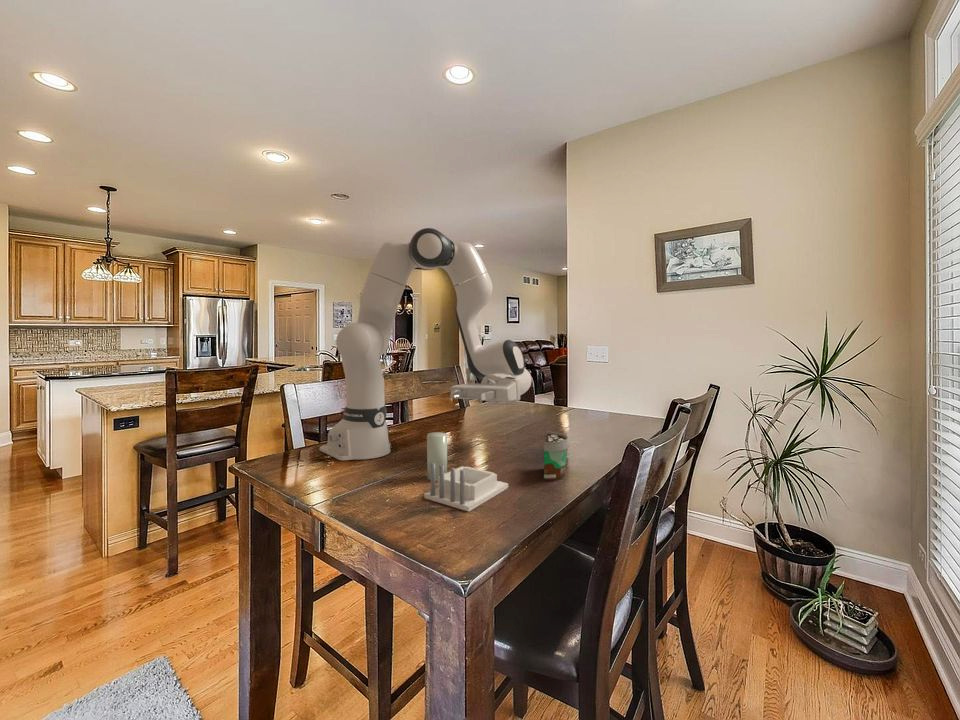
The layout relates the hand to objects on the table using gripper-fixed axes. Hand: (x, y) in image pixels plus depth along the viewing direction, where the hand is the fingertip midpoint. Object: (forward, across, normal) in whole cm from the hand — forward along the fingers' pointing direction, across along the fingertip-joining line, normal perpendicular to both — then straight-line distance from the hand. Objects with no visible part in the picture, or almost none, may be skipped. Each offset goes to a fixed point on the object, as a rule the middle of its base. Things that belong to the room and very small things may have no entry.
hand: (465, 396), depth 112 cm
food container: (-8, +22, +21) cm, 31 cm away
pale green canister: (+12, -1, +18) cm, 22 cm away
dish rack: (+15, +11, +19) cm, 27 cm away
